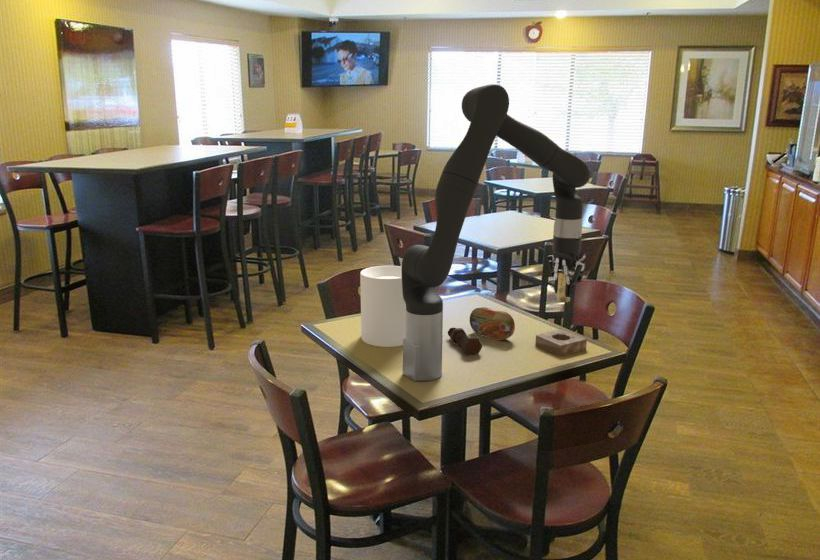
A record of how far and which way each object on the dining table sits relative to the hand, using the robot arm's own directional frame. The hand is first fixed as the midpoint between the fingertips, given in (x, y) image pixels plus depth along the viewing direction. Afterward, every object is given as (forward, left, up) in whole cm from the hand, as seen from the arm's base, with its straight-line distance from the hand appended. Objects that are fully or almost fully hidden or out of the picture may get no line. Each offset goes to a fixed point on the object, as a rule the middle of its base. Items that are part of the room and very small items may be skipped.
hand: (563, 294), depth 184 cm
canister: (-38, +32, -16) cm, 52 cm away
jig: (0, 0, -16) cm, 16 cm away
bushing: (0, 0, -2) cm, 2 cm away
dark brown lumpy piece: (-24, +15, -16) cm, 32 cm away
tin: (-11, +17, -16) cm, 26 cm away
